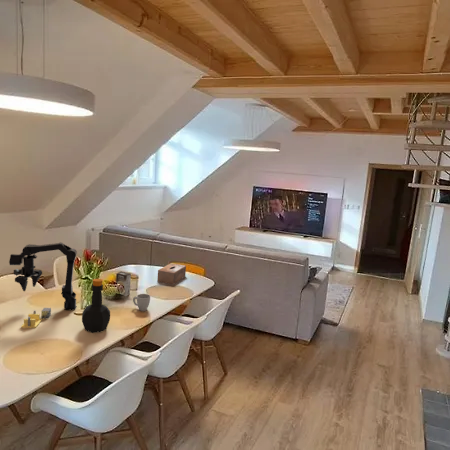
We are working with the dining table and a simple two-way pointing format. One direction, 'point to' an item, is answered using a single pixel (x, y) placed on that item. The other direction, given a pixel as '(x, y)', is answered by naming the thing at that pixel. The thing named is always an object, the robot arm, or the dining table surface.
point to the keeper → (32, 321)
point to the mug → (142, 301)
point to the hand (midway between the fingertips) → (29, 288)
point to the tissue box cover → (171, 273)
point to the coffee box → (124, 281)
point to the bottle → (96, 311)
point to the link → (46, 313)
